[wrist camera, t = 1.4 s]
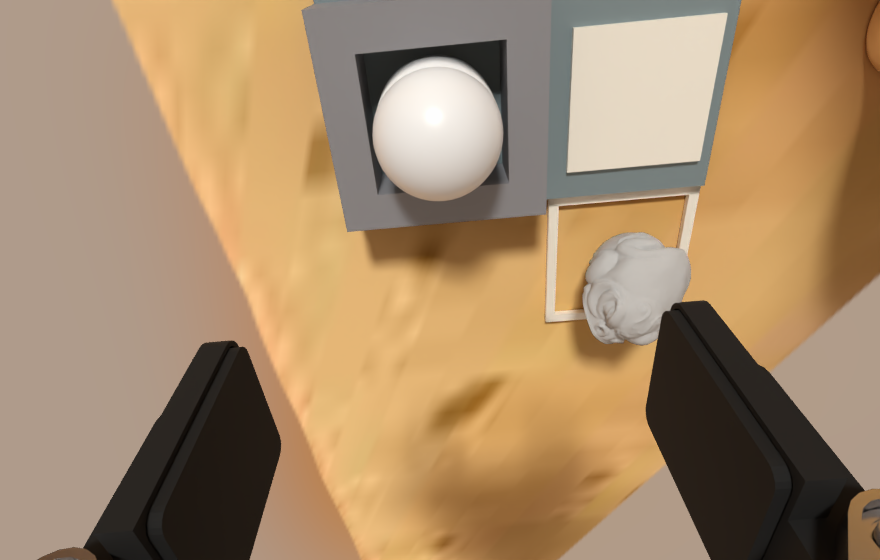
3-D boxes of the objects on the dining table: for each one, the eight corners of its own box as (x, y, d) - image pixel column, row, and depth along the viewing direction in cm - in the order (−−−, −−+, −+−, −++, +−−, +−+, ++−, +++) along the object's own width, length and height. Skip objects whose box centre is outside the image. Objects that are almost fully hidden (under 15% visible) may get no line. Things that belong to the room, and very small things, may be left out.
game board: (267, -262, 21) (226, -315, 17) (795, -323, 20) (892, -395, 16) (380, 332, 38) (374, 381, 33) (673, 308, 37) (706, 355, 33)
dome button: (369, 60, 25) (354, 89, 20) (493, 48, 25) (510, 74, 20) (386, 178, 28) (378, 228, 23) (497, 168, 28) (512, 216, 23)
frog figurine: (545, 266, 35) (569, 330, 29) (626, 190, 32) (671, 245, 26) (605, 311, 37) (638, 380, 31) (686, 244, 34) (739, 305, 28)
